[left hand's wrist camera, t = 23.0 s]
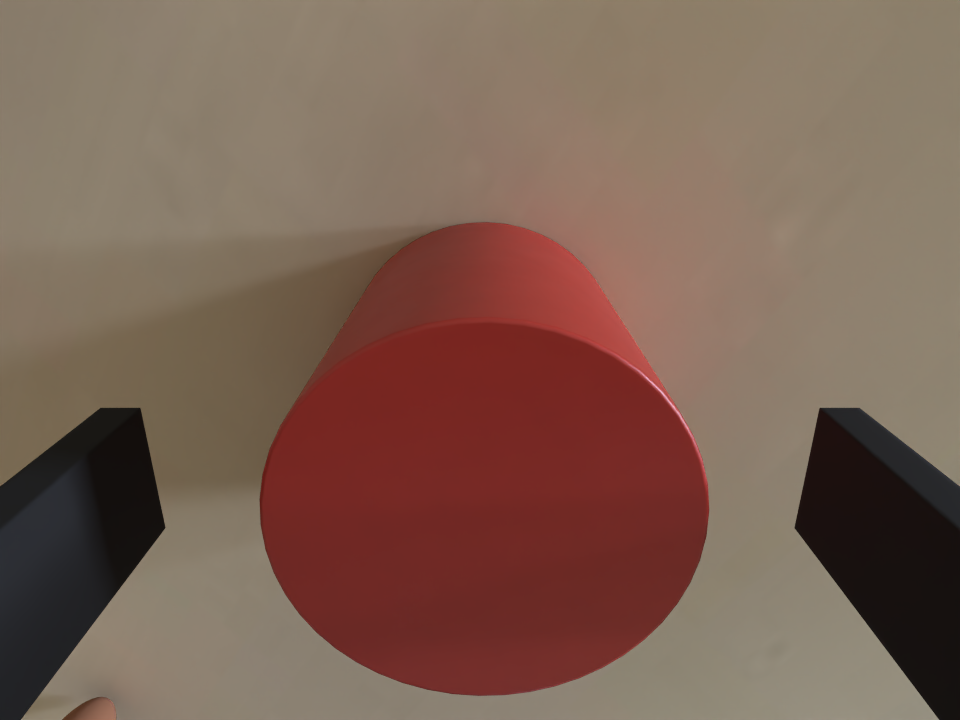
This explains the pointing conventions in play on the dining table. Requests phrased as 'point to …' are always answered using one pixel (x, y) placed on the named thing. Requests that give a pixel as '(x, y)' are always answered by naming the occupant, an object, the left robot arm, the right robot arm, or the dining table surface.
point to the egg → (94, 710)
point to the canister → (484, 474)
